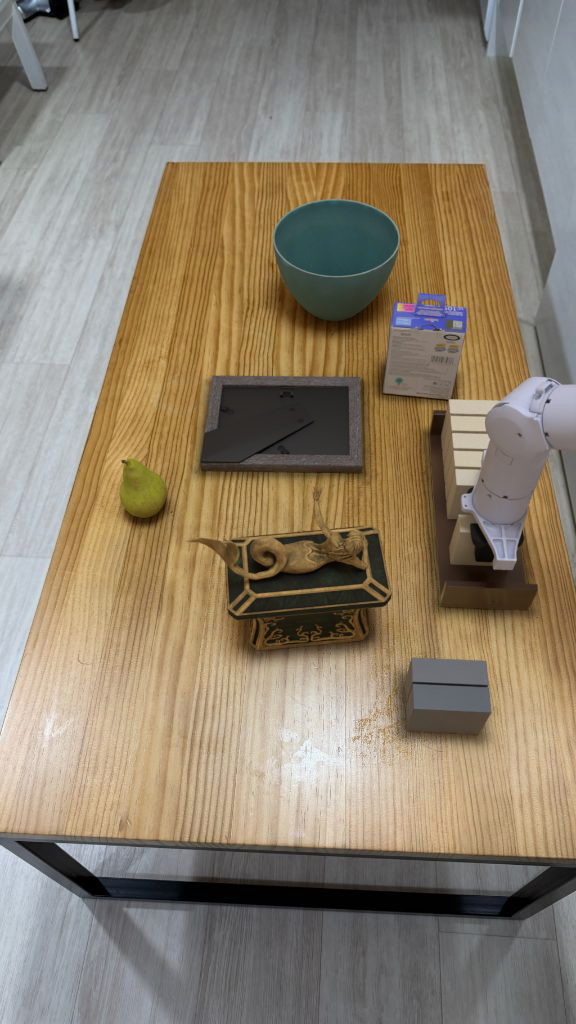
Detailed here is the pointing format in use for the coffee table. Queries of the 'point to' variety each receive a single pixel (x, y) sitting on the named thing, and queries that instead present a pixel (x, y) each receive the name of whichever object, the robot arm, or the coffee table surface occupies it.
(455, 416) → the cream books
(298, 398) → the picture frame
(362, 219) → the teal bowl
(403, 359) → the ink cartridge box
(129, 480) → the fruit
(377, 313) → the coffee table surface
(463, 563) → the cream book
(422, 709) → the grey books
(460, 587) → the book rack
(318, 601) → the decorative box
